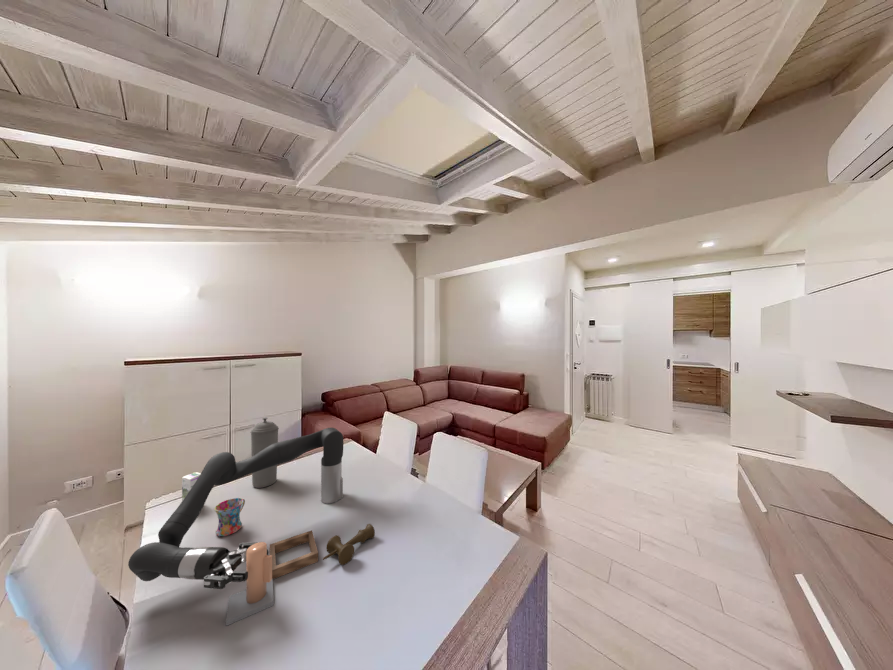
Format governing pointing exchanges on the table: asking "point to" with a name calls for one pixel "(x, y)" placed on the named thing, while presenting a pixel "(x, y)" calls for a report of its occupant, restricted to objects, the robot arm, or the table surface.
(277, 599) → the table surface
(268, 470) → the canister
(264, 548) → the peach cylinder post
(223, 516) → the mug
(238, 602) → the slate mat
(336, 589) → the table surface
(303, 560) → the walnut collar
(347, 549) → the kendama
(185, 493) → the syrup box
